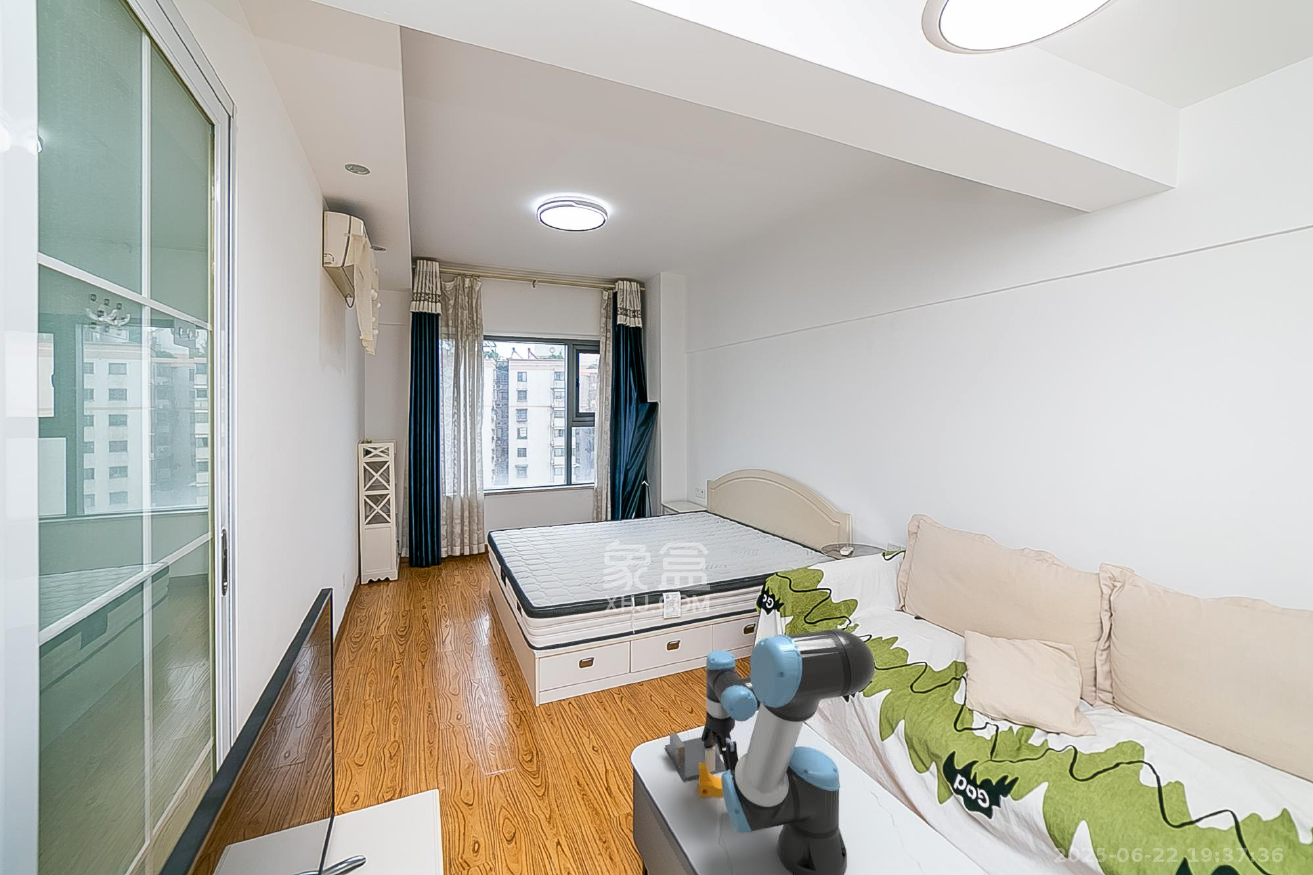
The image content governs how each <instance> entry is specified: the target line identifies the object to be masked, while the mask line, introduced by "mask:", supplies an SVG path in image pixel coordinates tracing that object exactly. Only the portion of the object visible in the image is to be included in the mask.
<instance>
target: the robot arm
mask: <svg viewBox="0 0 1313 875" xmlns="http://www.w3.org/2000/svg"><path fill="white" fill-rule="evenodd" d="M874 658H875V657H874V655H873V653H872V651H871V649H870V647H869V646H868V645H867V643H866V642H865V641H864V640H863V639H862V638H860V637H859V636H857V635H856V634H854V633H852V632H850V631H847V630H843V629H825V630H818V631H808V632H802V633H795V634H777V635H776V634H775V635H773V636H769V637H765V638H762V639H760V640H759V641H758V642H757V643H756V644H755V646H754V647H753V649H752V652H751V655H750V660H749V666H750V671H749V676H748V677H747V676H746V677H741V676H740V675H739V673H737V671H736V666H737V665H736V659H735V655H734V654H733V653H731V652H730V651H727V650H722V649H721V650H714V651H711V652H709V653H708V654H707V656H706V664H705V671H706V672H705V674H706V675H705V677H706V679H705V680H706V681H705V683H706V684H705V686H706V694H705V704H706V705H705V708H706V712H705V714H706V716H705V724H704V726H705V727H704V726H703V727H704V728H703V730H702V734H701V736H700V737H701V740H702V742H704V747H705V748H706V749H705V763H706V766H707V769H708V771H709V772H712V771H715V748H714V747H712V746H715V743H716V744H717V745H718V748H719V752H720V756H722V757H721V758H722V761H723V763H724V765H725V769H726V771H724V772H722V774H721V776H720V778H721V782H722V790H723V796H724V797H723V800H724V804H725V809H726V812H727V816H728V818H729V821H730V823H731V825H732V827H733V829H734V830H735V831H736V832H738V833H740V834H743V833H753V832H756V831H761V830H767V829H769V828H775V827H780V826H782V829H781V830H780V832H779V836H778V840H777V841H778V842H777V843H778V844H777V845H778V847H777V848H778V851H777V852H778V856H779V859H780V861H781V863H782V864H783V866H784V867H785V869H787V871H789V872H790V873H792V875H844V874H845V872H846V869H847V866H848V853H847V848H846V844H845V841H844V839H843V836H842V835H843V834H842V833H841V829H840V827H839V826H840V789H841V784H840V774H839V769H838V766H837V765H836V762H835V761H834V760H833V759H832V758H831V757H830V756H828V755H827V754H826V753H824V752H823V751H820V750H817V749H816V748H813V747H809V746H801V745H800V746H796V744H797V742H798V740H799V735H800V733H801V730H802V727H803V724H804V722H806V721H808V720H810V719H811V718H813V716H815V714H816V713H817V710H818V707H819V705H820V702H821V701H823V700H826V699H834V698H840V697H845V696H850V695H853V694H857V693H859V692H861V691H863V690H864V689H865V688H867V686H868V685H869V684H870V683H871V682H872V680H873V678H874V674H875V670H876V665H875V659H874ZM757 711H758V712H757ZM756 712H757V715H756V719H755V723H754V726H753V730H752V733H751V737H750V740H749V745H748V748H747V751H746V753H744V754H743V755H741V756H740V757H739V754H738V746H737V744H738V743H737V741H736V740H734V741H732V737H731V734H730V733H731V732H732V731H733V730H734V728H736V727H735V726H736V722H747V721H748V720H749V719H750V718H752V717H753V716H755V714H756Z"/></svg>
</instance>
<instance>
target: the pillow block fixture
mask: <svg viewBox="0 0 1313 875" xmlns="http://www.w3.org/2000/svg"><path fill="white" fill-rule="evenodd" d="M703 727H705V725H704V726H703ZM701 737H702V736H700V737H695V738H691V739H687V740H683V741H682V739H681V738H680V737H679V735H678V733H677V732H673V733H669V744H665V746H664V749H665V750H666V753H667V754H668V756H669V757H670V760H671V761H672V763H673V764H674V767H675V768H676V769H677V771H678V773H679V775H680V777H681V778H682V780H683V782H687V781H692V780H695V779H699V763H705V749H706V748H705V747H704V742H702V740H701ZM712 747H714V748H715V771H712V772H710V773H711V774H712V775H716V774H720V773H723V772H726V769H725V765H724V761H723V759H721V754H720V752H719V748H718V745H717V744H716V743H715V746H712Z"/></svg>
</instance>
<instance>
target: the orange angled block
mask: <svg viewBox="0 0 1313 875" xmlns="http://www.w3.org/2000/svg"><path fill="white" fill-rule="evenodd" d="M698 787H699V788H698V794H699V797H704V796H709V797H708V798H724V796H723V790H722V782H721V777H717V776H715V775H714V774H711V773H710V772H709V771H708V769H707V766H706V763H699V778H698Z"/></svg>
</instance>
